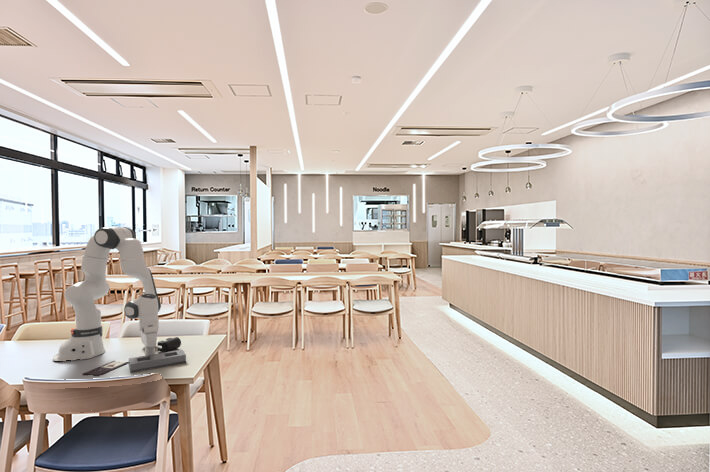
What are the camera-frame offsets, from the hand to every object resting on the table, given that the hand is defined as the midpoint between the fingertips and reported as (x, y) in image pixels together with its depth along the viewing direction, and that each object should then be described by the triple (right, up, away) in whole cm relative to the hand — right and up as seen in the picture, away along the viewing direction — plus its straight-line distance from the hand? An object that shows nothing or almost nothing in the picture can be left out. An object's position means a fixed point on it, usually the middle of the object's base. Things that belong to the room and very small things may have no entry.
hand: (149, 352), depth 203 cm
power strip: (+9, -3, -11) cm, 14 cm away
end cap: (+6, -3, +10) cm, 12 cm away
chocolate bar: (-12, -4, -16) cm, 20 cm away
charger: (0, -3, 0) cm, 3 cm away
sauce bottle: (-11, -2, +19) cm, 22 cm away
